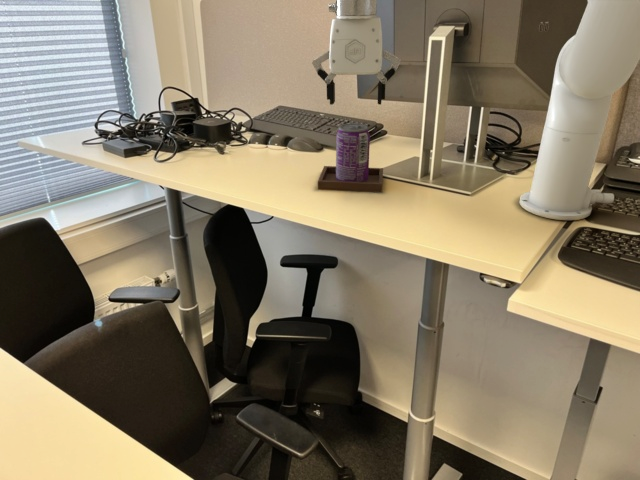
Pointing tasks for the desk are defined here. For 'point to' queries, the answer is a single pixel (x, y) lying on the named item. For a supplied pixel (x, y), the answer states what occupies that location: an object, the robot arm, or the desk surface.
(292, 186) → the desk surface
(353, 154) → the beverage can
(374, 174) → the tray
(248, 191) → the desk surface
